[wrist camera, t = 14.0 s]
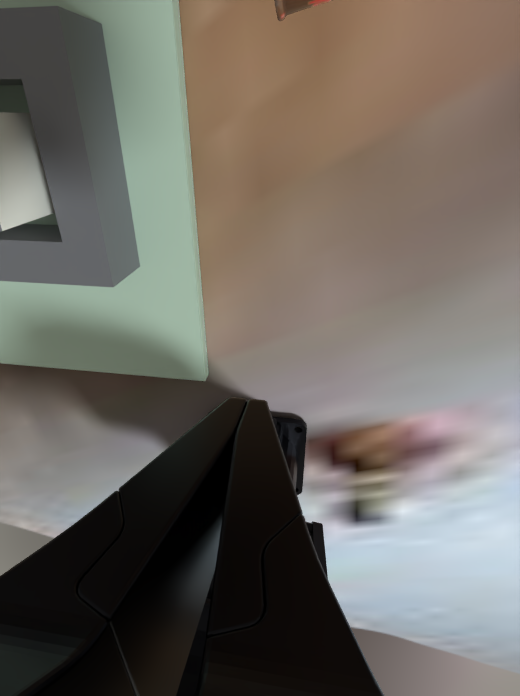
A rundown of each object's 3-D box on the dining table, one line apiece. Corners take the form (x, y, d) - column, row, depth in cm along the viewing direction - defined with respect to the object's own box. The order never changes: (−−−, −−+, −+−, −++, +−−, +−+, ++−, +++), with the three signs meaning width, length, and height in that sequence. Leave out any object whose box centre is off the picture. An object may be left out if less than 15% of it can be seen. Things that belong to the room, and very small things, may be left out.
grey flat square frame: (140, 266, 21) (111, 288, 18) (-30, 257, 22) (-81, 277, 20) (101, 23, 16) (54, 4, 13) (-115, 31, 17) (-199, 15, 14)
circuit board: (208, 373, 25) (205, 381, 24) (4, 356, 27) (-4, 362, 26) (178, -8, 16) (171, -13, 15) (-128, 7, 18) (-147, 2, 17)
